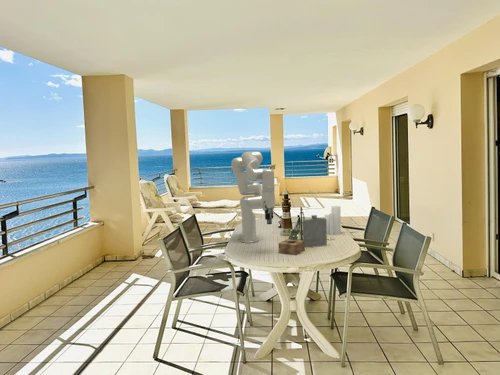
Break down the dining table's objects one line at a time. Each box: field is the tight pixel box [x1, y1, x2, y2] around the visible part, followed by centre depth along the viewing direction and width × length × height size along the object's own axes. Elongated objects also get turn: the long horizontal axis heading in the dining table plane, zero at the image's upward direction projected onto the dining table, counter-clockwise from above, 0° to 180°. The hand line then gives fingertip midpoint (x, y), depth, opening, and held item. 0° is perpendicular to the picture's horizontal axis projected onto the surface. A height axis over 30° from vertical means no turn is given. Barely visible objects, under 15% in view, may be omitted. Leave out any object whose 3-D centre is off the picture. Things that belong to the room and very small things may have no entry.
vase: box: [324, 205, 342, 236], centre depth 289 cm, size 11×7×20 cm, turn 90°
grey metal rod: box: [266, 207, 273, 225], centre depth 244 cm, size 3×3×12 cm
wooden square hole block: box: [278, 238, 306, 256], centre depth 244 cm, size 12×12×6 cm
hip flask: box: [302, 214, 328, 248], centre depth 257 cm, size 16×4×20 cm, turn 100°
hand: (269, 218), depth 244 cm, fingers closed on grey metal rod, 3 cm apart
